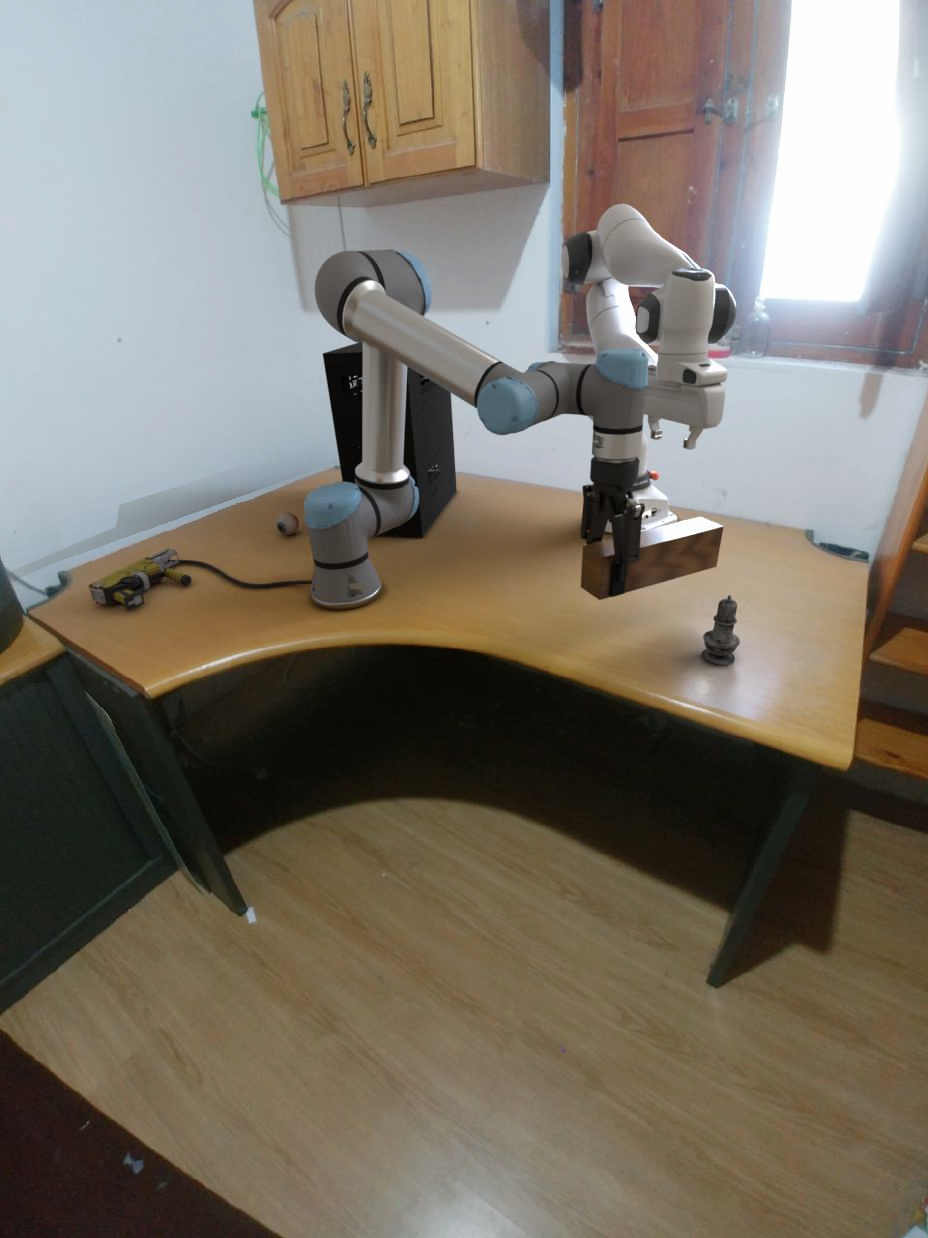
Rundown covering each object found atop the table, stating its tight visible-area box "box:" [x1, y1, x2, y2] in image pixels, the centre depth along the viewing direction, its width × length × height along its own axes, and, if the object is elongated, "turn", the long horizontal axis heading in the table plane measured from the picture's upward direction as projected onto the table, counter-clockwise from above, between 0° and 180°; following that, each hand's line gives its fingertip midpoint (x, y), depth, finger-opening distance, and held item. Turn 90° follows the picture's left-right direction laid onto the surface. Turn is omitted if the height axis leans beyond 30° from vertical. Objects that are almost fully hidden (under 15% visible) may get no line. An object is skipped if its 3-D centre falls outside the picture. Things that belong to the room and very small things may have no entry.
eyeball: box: [275, 511, 300, 536], centre depth 163 cm, size 6×6×6 cm
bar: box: [580, 516, 724, 601], centre depth 108 cm, size 26×6×8 cm, turn 115°
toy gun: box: [88, 547, 192, 612], centre depth 139 cm, size 5×24×15 cm
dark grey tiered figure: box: [701, 594, 741, 666], centre depth 101 cm, size 6×6×12 cm
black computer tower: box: [322, 342, 458, 538], centre depth 165 cm, size 38×20×45 cm, turn 167°
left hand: (605, 586), depth 107 cm, fingers closed on bar, 6 cm apart
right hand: (671, 443), depth 119 cm, fingers open, 8 cm apart
